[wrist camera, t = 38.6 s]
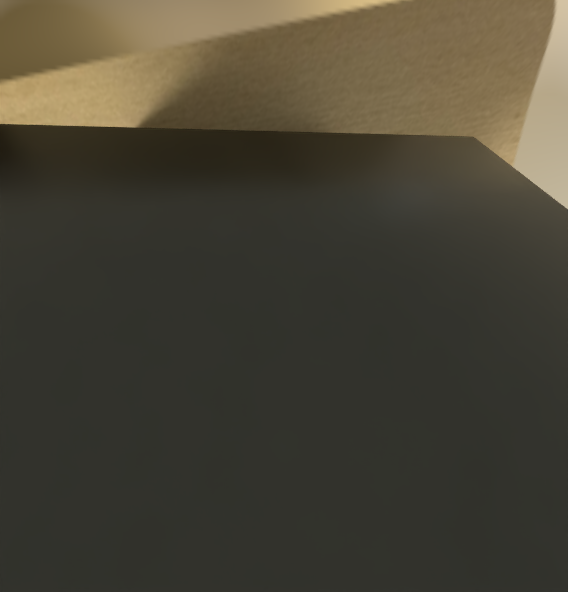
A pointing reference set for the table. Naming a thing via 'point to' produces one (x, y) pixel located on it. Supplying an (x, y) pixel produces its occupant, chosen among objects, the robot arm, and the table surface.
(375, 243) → the black box lid
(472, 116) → the table surface
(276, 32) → the table surface
